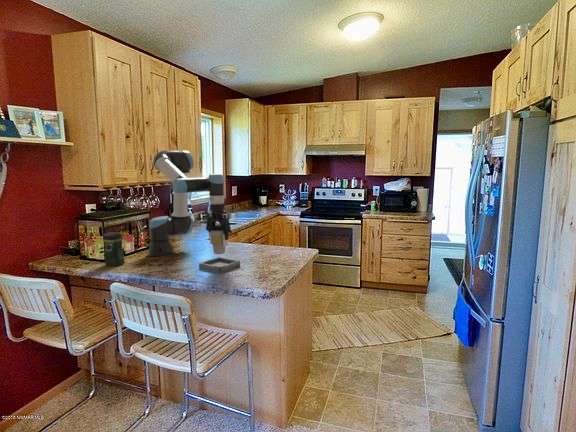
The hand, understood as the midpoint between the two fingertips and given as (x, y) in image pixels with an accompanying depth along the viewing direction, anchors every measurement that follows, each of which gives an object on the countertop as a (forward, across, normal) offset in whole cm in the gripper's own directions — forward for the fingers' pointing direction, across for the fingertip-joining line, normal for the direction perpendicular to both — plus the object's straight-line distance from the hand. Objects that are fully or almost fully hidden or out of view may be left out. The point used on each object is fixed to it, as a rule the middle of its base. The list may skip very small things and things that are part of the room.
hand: (218, 244), depth 186 cm
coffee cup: (+5, 0, 0) cm, 5 cm away
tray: (+13, 0, 0) cm, 13 cm away
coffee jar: (+13, -55, -28) cm, 63 cm away
